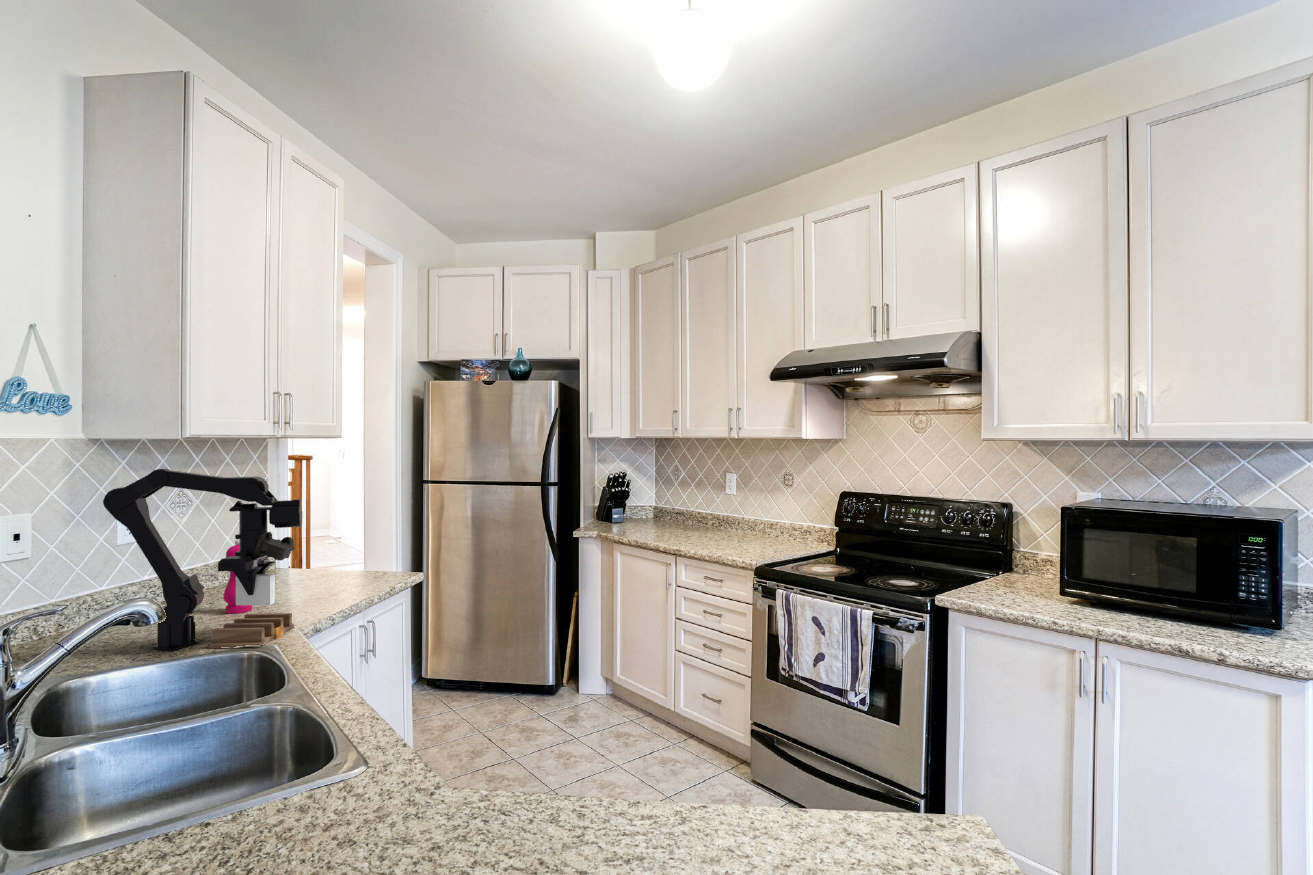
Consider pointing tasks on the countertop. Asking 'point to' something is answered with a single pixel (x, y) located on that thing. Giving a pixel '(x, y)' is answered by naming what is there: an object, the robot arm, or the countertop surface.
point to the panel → (257, 591)
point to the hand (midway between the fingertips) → (253, 593)
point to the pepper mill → (233, 588)
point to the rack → (252, 630)
